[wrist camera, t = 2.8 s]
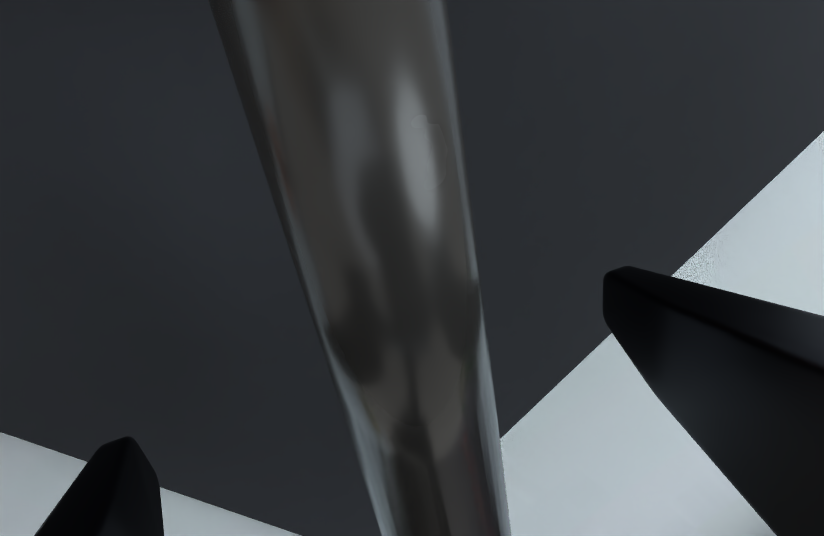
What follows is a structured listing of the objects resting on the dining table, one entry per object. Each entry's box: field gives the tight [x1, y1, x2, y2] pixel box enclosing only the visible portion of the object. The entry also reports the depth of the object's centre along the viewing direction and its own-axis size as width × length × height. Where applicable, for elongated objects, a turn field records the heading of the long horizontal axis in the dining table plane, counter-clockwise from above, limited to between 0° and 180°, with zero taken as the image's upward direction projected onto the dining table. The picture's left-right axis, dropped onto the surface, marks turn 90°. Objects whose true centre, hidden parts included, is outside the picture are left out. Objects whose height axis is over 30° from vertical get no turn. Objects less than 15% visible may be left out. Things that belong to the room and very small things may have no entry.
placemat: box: [0, 0, 824, 536], centre depth 10 cm, size 20×24×1 cm
